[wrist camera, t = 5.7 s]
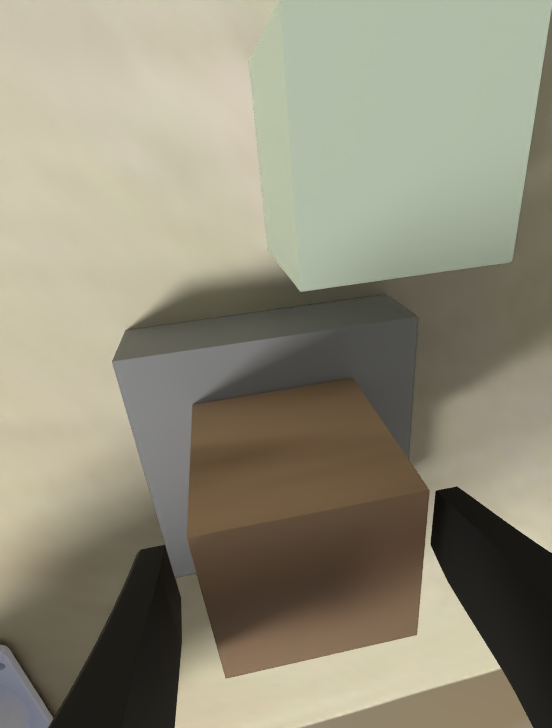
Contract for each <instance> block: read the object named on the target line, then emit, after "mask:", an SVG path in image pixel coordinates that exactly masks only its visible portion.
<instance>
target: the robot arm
mask: <svg viewBox="0 0 552 728" xmlns="http://www.w3.org/2000/svg"><path fill="white" fill-rule="evenodd" d="M431 547H432V549H433V551H434V553H435V555H436V558H437V560H438V562H439V564H440V566H441V568H442V570H443V572H444V574H445V576H446V578H447V581H448V583H449V584H450V586H451V588H452V589H453V591H454V593H455V594H456V596H457V597H458V599H459V601H460V602H461V604H462V606H463V607H464V609H465V611H466V612H467V614H468V615H469V617H470V619H471V620H472V622H473V623H474V625H475V627H476V628H477V630H478V631H479V633H480V635H481V636H482V638H483V639H484V641H485V643H486V644H487V646H488V648H489V649H490V651H491V652H492V654H493V656H494V657H495V659H496V660H497V662H498V664H499V665H500V667H501V668H502V670H503V672H504V674H505V675H506V677H507V679H508V680H509V682H510V684H511V686H512V687H513V689H514V691H515V693H516V695H517V697H518V699H519V701H520V703H521V704H522V706H523V708H524V710H525V712H526V714H527V716H528V718H529V720H530V722H531V724H532V726H533V727H534V728H552V553H551V552H549V551H547V550H546V549H544V548H543V547H541V546H540V545H538V544H537V543H536V542H534V541H533V540H531V539H530V538H528V537H527V536H525V535H524V534H522V533H521V532H520V531H518V530H517V529H515V528H514V527H512V526H511V525H510V524H508V523H507V522H505V521H504V520H503V519H501V518H500V517H499V516H497V515H496V514H494V513H493V512H492V511H490V510H489V509H487V508H486V507H485V506H483V505H482V504H481V503H479V502H478V501H476V500H475V499H474V498H472V497H471V496H470V495H468V494H467V493H465V492H464V491H463V490H461V489H460V488H458V487H452V488H447V489H442V490H437V491H436V493H435V504H434V514H433V524H432V534H431ZM181 644H182V622H181V596H180V593H179V590H178V586H177V583H176V580H175V576H174V573H173V570H172V566H171V563H170V560H169V556H168V553H167V550H166V546H165V545H162V546H157V547H152V548H147V549H142V550H140V551H139V552H138V553H137V555H136V558H135V560H134V563H133V565H132V567H131V570H130V572H129V575H128V577H127V579H126V582H125V584H124V586H123V588H122V591H121V593H120V595H119V597H118V599H117V601H116V604H115V606H114V608H113V610H112V612H111V614H110V616H109V618H108V620H107V622H106V624H105V626H104V628H103V630H102V632H101V634H100V636H99V638H98V640H97V642H96V644H95V646H94V648H93V650H92V652H91V653H90V655H89V657H88V659H87V661H86V663H85V664H84V666H83V668H82V670H81V672H80V673H79V675H78V677H77V679H76V681H75V683H74V684H73V686H72V688H71V690H70V691H69V693H68V695H67V697H66V698H65V700H64V702H63V703H62V705H61V707H60V708H59V710H58V712H57V713H56V715H55V717H54V718H53V717H52V715H51V714H50V712H49V711H48V709H47V708H46V706H45V704H44V703H43V701H42V700H41V698H40V696H39V695H38V693H37V692H36V690H35V689H34V687H33V685H32V684H31V682H30V681H29V679H28V678H27V676H26V674H25V673H24V671H23V670H22V668H21V666H20V665H19V663H18V662H17V660H16V659H15V657H14V655H13V654H12V652H11V651H10V649H9V648H8V647H7V646H5V645H0V728H175V716H176V705H177V693H178V681H179V669H180V657H181Z"/></svg>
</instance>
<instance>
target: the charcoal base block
mask: <svg viewBox="0 0 552 728" xmlns="http://www.w3.org/2000/svg"><path fill="white" fill-rule="evenodd" d="M417 327H418V316H416V315H415V314H413V313H412V312H411V311H409V310H408V309H406V308H405V307H403V306H402V305H401V304H399V303H398V302H396V301H395V300H393V299H392V298H391V297H389V296H388V295H386V294H383V295H376V296H368V297H361V298H354V299H347V300H340V301H332V302H325V303H318V304H311V305H304V306H296V307H289V308H282V309H275V310H268V311H260V312H253V313H246V314H239V315H231V316H224V317H217V318H210V319H203V320H195V321H188V322H181V323H174V324H167V325H159V326H152V327H145V328H138V329H131V330H125V333H124V335H123V337H122V340H121V342H120V344H119V347H118V349H117V351H116V354H115V356H114V358H113V361H112V363H113V367H114V370H115V374H116V377H117V381H118V384H119V388H120V391H121V394H122V398H123V401H124V405H125V408H126V412H127V415H128V419H129V422H130V425H131V429H132V432H133V436H134V439H135V443H136V446H137V450H138V453H139V456H140V460H141V463H142V467H143V470H144V474H145V477H146V481H147V484H148V487H149V491H150V494H151V498H152V501H153V505H154V508H155V512H156V515H157V518H158V522H159V525H160V529H161V532H162V536H163V539H164V543H165V546H166V550H167V553H168V556H169V560H170V563H171V566H172V570H173V573H174V576H175V578H177V577H182V576H187V575H191V574H196V569H195V566H194V562H193V559H192V555H191V551H190V548H189V544H188V541H187V518H188V495H189V471H190V447H191V424H192V405H194V404H200V403H206V402H212V401H218V400H224V399H230V398H236V397H242V396H248V395H254V394H260V393H266V392H272V391H278V390H284V389H290V388H296V387H302V386H308V385H314V384H320V383H326V382H332V381H338V380H344V379H350V378H353V379H354V380H355V382H356V383H357V385H358V386H359V388H360V389H361V391H362V392H363V394H364V395H365V397H366V398H367V399H368V401H369V402H370V404H371V405H372V407H373V408H374V410H375V411H376V413H377V414H378V416H379V417H380V419H381V420H382V421H383V423H384V424H385V426H386V427H387V429H388V430H389V432H390V433H391V435H392V436H393V438H394V439H395V440H396V442H397V443H398V445H399V446H400V448H401V449H402V451H403V452H404V454H405V455H406V457H407V458H408V460H409V449H410V433H411V418H412V403H413V388H414V372H415V357H416V342H417Z"/></svg>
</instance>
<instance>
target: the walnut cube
mask: <svg viewBox="0 0 552 728" xmlns="http://www.w3.org/2000/svg"><path fill="white" fill-rule="evenodd" d="M428 501H429V489H428V487H427V486H426V484H425V483H424V482H423V480H422V479H421V477H420V476H419V474H418V473H417V471H416V470H415V468H414V467H413V465H412V464H411V462H410V461H409V460H408V458H407V457H406V455H405V454H404V452H403V451H402V449H401V448H400V446H399V445H398V443H397V442H396V440H395V439H394V438H393V436H392V435H391V433H390V432H389V430H388V429H387V427H386V426H385V424H384V423H383V421H382V420H381V419H380V417H379V416H378V414H377V413H376V411H375V410H374V408H373V407H372V405H371V404H370V402H369V401H368V399H367V398H366V397H365V395H364V394H363V392H362V391H361V389H360V388H359V386H358V385H357V383H356V382H355V380H354V379H353V378H350V379H344V380H338V381H332V382H326V383H320V384H314V385H308V386H302V387H296V388H290V389H284V390H278V391H272V392H266V393H260V394H254V395H248V396H242V397H236V398H230V399H224V400H218V401H212V402H206V403H200V404H194V405H192V424H191V447H190V471H189V495H188V518H187V541H188V544H189V548H190V551H191V555H192V559H193V562H194V566H195V569H196V573H197V577H198V580H199V584H200V588H201V591H202V595H203V598H204V602H205V606H206V609H207V613H208V616H209V620H210V624H211V627H212V631H213V634H214V638H215V642H216V645H217V649H218V652H219V656H220V660H221V663H222V667H223V671H224V674H225V678H231V677H235V676H239V675H244V674H248V673H252V672H257V671H261V670H266V669H270V668H274V667H279V666H283V665H287V664H292V663H296V662H301V661H305V660H309V659H314V658H318V657H322V656H327V655H331V654H336V653H340V652H344V651H349V650H353V649H357V648H362V647H366V646H371V645H375V644H379V643H384V642H388V641H392V640H397V639H401V638H406V637H410V636H414V635H417V628H418V617H419V605H420V594H421V582H422V570H423V559H424V547H425V536H426V524H427V512H428Z"/></svg>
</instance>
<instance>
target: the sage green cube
mask: <svg viewBox="0 0 552 728" xmlns="http://www.w3.org/2000/svg"><path fill="white" fill-rule="evenodd" d="M551 9H552V0H280V1H279V3H278V5H277V7H276V9H275V11H274V13H273V15H272V17H271V19H270V21H269V23H268V25H267V27H266V29H265V31H264V33H263V35H262V37H261V39H260V41H259V43H258V45H257V47H256V49H255V51H254V53H253V55H252V57H251V59H250V61H249V71H250V81H251V90H252V100H253V110H254V120H255V130H256V140H257V150H258V160H259V170H260V180H261V190H262V200H263V209H264V219H265V229H266V239H267V249H268V251H269V253H270V254H271V255H272V256H273V258H274V259H275V260H276V261H277V263H278V264H279V265H280V267H281V268H282V269H283V270H284V272H285V273H286V274H287V275H288V277H289V278H290V279H291V280H292V282H293V283H294V284H295V286H296V287H297V288H298V289H299V291H300V292H303V291H310V290H317V289H325V288H332V287H339V286H346V285H353V284H360V283H367V282H374V281H381V280H389V279H396V278H403V277H410V276H417V275H424V274H431V273H438V272H445V271H453V270H460V269H467V268H474V267H481V266H488V265H495V264H502V263H509V262H512V260H513V254H514V247H515V241H516V235H517V228H518V222H519V215H520V209H521V202H522V196H523V189H524V183H525V177H526V170H527V164H528V157H529V151H530V144H531V138H532V131H533V125H534V118H535V112H536V106H537V99H538V93H539V86H540V80H541V73H542V67H543V60H544V54H545V48H546V41H547V35H548V28H549V22H550V15H551Z"/></svg>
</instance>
